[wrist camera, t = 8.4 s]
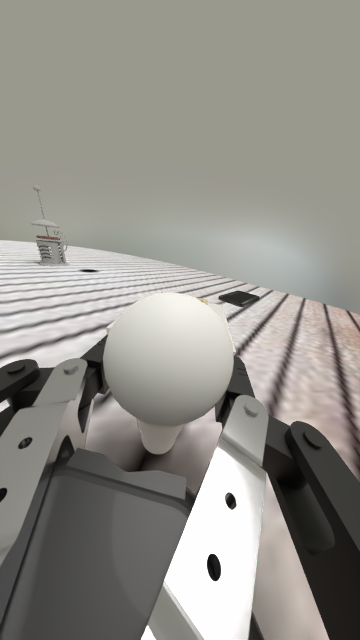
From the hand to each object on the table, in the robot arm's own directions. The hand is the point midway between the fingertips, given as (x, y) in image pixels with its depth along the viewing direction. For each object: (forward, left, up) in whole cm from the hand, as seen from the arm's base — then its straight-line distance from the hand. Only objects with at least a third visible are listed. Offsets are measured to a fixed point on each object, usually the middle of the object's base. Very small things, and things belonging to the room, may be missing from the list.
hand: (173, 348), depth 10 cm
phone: (+14, +40, -7) cm, 44 cm away
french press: (-58, +48, -7) cm, 76 cm away
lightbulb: (0, -2, -7) cm, 7 cm away
